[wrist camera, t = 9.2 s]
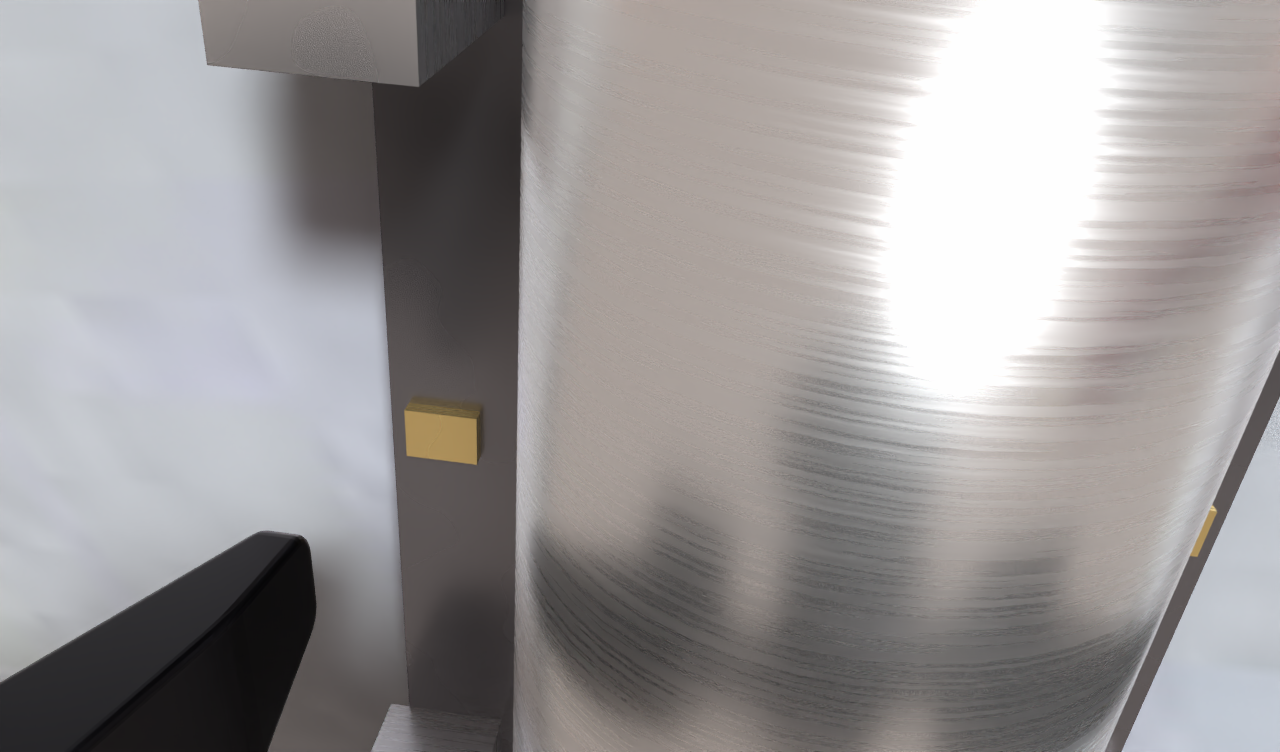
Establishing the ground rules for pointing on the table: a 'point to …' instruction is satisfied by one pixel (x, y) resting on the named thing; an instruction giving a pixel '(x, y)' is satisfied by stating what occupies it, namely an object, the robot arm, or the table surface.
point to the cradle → (480, 333)
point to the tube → (877, 360)
